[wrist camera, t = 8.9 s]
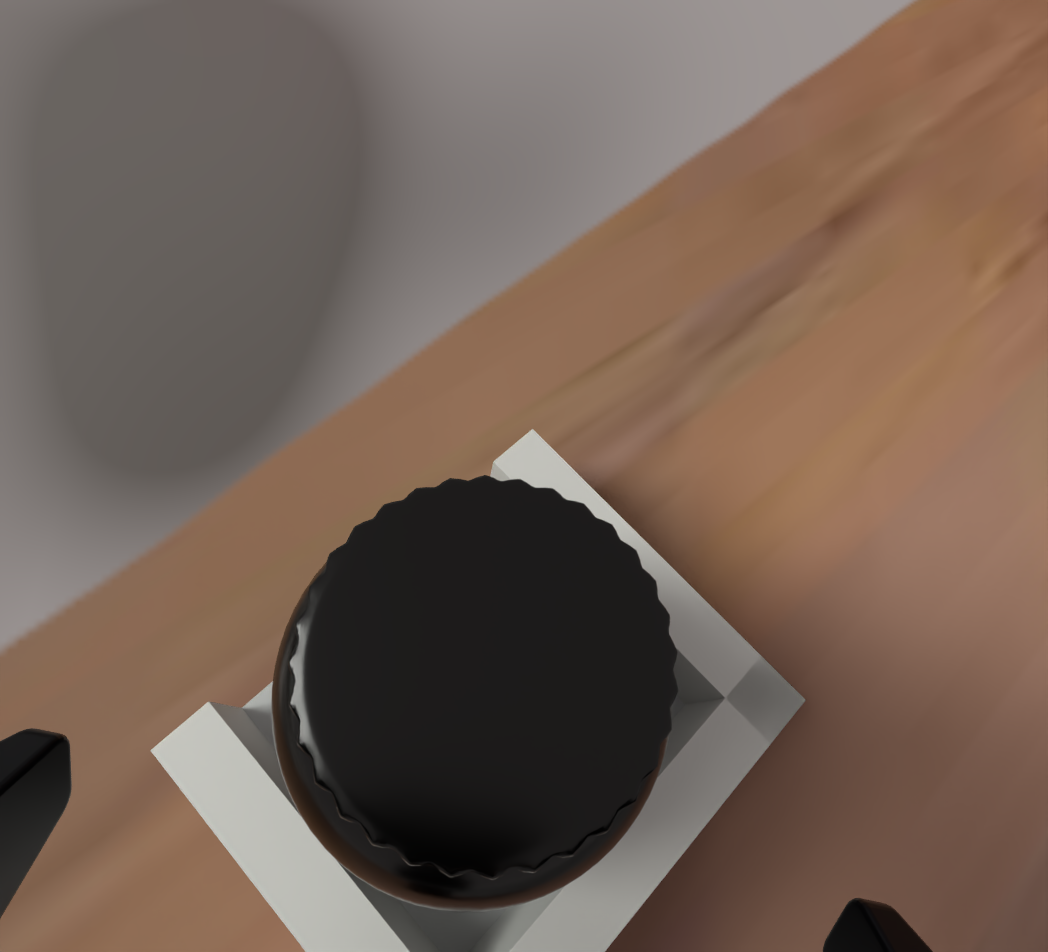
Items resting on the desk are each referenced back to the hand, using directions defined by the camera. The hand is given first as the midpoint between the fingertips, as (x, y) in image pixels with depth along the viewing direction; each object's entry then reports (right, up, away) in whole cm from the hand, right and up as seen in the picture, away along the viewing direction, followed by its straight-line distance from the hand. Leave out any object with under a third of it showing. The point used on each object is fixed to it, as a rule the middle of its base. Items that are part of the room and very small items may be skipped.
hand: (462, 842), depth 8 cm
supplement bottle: (-1, -2, +12) cm, 12 cm away
